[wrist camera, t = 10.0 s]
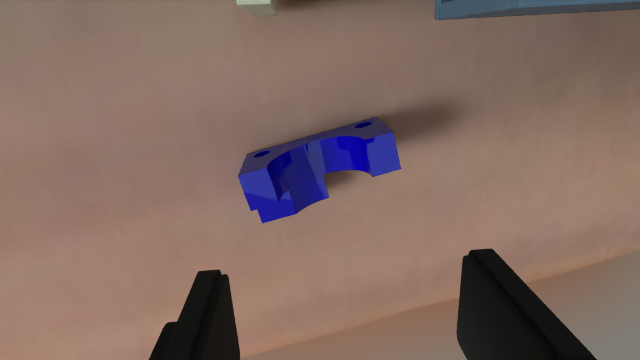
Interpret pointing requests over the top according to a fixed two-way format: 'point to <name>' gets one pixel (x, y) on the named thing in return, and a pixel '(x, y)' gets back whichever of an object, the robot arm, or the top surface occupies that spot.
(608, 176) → the top surface
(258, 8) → the drawer
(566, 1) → the cabinet
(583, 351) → the robot arm
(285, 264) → the top surface
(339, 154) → the cable holder
